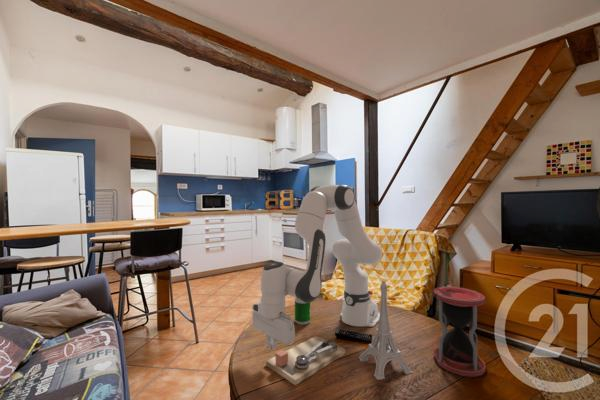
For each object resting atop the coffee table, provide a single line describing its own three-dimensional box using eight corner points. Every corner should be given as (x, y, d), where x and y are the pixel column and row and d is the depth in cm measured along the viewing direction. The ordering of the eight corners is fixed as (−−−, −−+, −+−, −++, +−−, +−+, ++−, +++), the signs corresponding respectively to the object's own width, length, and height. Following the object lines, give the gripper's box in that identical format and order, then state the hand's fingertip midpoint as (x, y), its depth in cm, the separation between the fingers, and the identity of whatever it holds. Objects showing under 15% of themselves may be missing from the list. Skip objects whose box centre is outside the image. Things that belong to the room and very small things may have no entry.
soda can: (309, 326, 129) (308, 300, 129) (293, 324, 130) (293, 299, 130) (311, 319, 136) (311, 295, 136) (296, 318, 138) (296, 294, 138)
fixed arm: (300, 371, 92) (300, 364, 92) (292, 365, 96) (292, 358, 96) (340, 352, 103) (340, 346, 103) (331, 347, 107) (331, 341, 107)
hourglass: (460, 348, 109) (459, 284, 109) (497, 373, 93) (497, 298, 93) (424, 353, 106) (423, 287, 106) (456, 380, 90) (455, 302, 90)
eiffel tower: (377, 380, 90) (377, 287, 90) (358, 358, 103) (357, 277, 103) (412, 373, 94) (412, 284, 94) (389, 352, 107) (389, 274, 107)
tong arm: (303, 369, 92) (303, 363, 92) (294, 365, 95) (294, 359, 95) (329, 345, 108) (329, 339, 108) (320, 342, 110) (320, 337, 110)
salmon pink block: (282, 359, 98) (282, 349, 98) (287, 363, 96) (287, 353, 96) (275, 363, 96) (275, 353, 96) (281, 366, 94) (281, 356, 94)
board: (315, 339, 116) (315, 335, 116) (345, 353, 106) (345, 349, 106) (266, 365, 98) (266, 360, 98) (295, 385, 87) (295, 379, 87)
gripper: (299, 314, 94) (299, 356, 94) (263, 299, 109) (262, 335, 108) (285, 320, 90) (285, 363, 89) (249, 303, 104) (249, 340, 104)
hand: (272, 347), depth 99 cm, fingers closed
